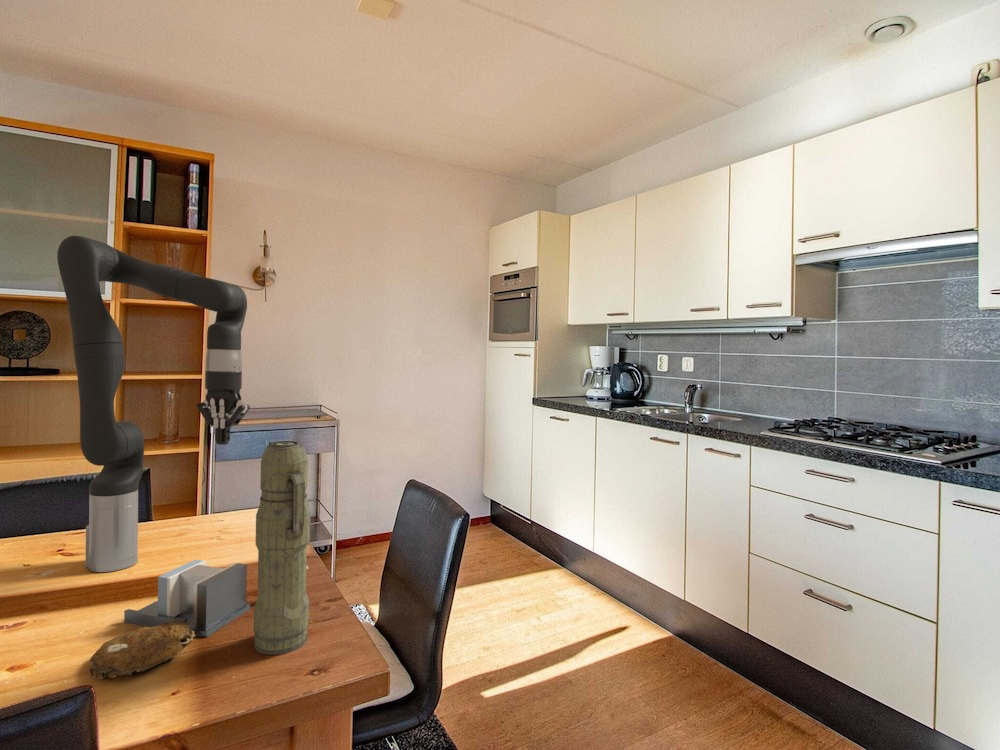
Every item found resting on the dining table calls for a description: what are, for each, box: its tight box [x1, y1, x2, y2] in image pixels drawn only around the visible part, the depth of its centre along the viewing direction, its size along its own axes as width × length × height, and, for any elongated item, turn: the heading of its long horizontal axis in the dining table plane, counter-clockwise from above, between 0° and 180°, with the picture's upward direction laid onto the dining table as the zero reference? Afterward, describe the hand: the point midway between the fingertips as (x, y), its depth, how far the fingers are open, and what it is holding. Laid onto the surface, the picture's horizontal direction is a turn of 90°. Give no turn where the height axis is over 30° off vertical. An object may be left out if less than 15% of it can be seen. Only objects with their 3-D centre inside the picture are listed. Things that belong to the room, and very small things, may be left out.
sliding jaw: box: [157, 559, 208, 617], centre depth 103 cm, size 3×9×8 cm, turn 167°
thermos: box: [253, 440, 311, 656], centre depth 94 cm, size 9×12×35 cm
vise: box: [123, 562, 251, 638], centre depth 103 cm, size 18×11×9 cm, turn 77°
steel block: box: [179, 565, 225, 618], centre depth 102 cm, size 6×4×8 cm
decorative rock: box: [89, 621, 196, 681], centre depth 89 cm, size 11×4×15 cm
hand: (222, 444), depth 125 cm, fingers closed
